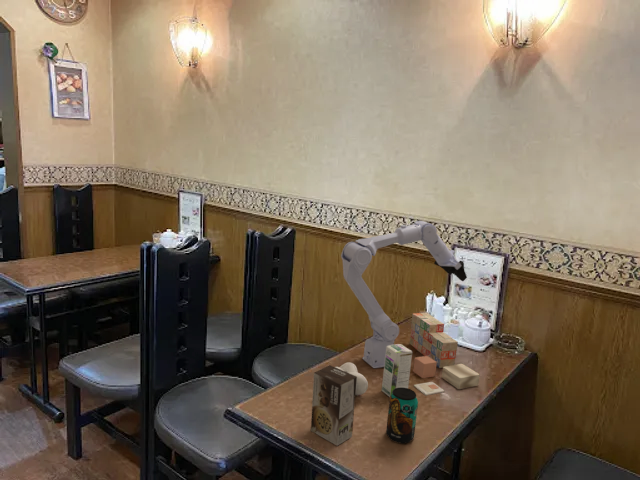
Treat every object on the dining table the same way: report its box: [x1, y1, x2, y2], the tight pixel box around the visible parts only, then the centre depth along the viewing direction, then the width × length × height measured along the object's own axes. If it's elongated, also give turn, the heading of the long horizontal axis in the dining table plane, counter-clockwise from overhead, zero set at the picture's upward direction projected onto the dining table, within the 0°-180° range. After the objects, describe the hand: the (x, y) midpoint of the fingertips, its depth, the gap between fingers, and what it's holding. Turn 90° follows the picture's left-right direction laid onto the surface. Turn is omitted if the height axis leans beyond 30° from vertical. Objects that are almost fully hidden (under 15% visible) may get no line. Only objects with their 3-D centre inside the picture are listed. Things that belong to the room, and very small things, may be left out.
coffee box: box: [310, 364, 357, 447], centre depth 118 cm, size 9×6×16 cm
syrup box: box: [381, 343, 413, 398], centre depth 140 cm, size 6×6×14 cm
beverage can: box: [385, 387, 419, 444], centre depth 119 cm, size 7×7×12 cm
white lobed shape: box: [334, 362, 369, 396], centre depth 138 cm, size 11×12×9 cm
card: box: [413, 381, 445, 396], centre depth 146 cm, size 7×6×1 cm
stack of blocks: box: [409, 312, 459, 369], centre depth 170 cm, size 21×6×12 cm, turn 17°
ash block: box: [441, 363, 480, 390], centre depth 152 cm, size 8×8×4 cm
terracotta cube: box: [413, 355, 437, 379], centre depth 155 cm, size 5×5×5 cm
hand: (458, 275), depth 167 cm, fingers open, 7 cm apart
